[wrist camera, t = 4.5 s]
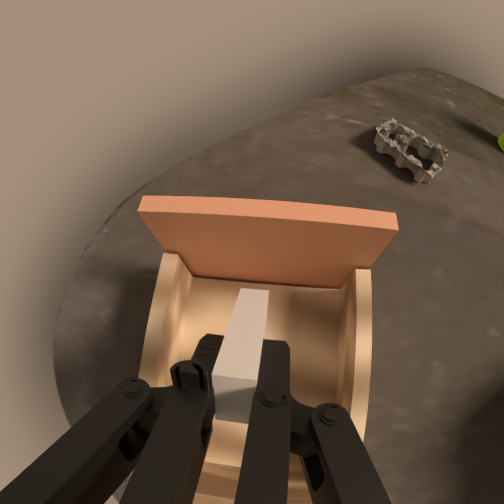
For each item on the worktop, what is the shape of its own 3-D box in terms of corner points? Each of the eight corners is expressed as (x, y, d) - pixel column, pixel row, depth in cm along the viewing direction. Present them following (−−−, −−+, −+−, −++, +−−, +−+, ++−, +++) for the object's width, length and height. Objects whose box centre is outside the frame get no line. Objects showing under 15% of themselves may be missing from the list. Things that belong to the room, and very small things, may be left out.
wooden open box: (330, 474, 18) (358, 512, 10) (161, 454, 20) (116, 481, 12) (346, 296, 26) (379, 258, 18) (186, 282, 27) (154, 241, 19)
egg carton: (441, 170, 33) (452, 153, 29) (422, 192, 31) (435, 173, 28) (390, 129, 37) (397, 110, 33) (365, 144, 35) (372, 123, 32)
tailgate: (349, 290, 25) (398, 230, 15) (184, 276, 27) (137, 211, 16) (349, 278, 26) (395, 213, 15) (186, 265, 27) (143, 195, 17)
